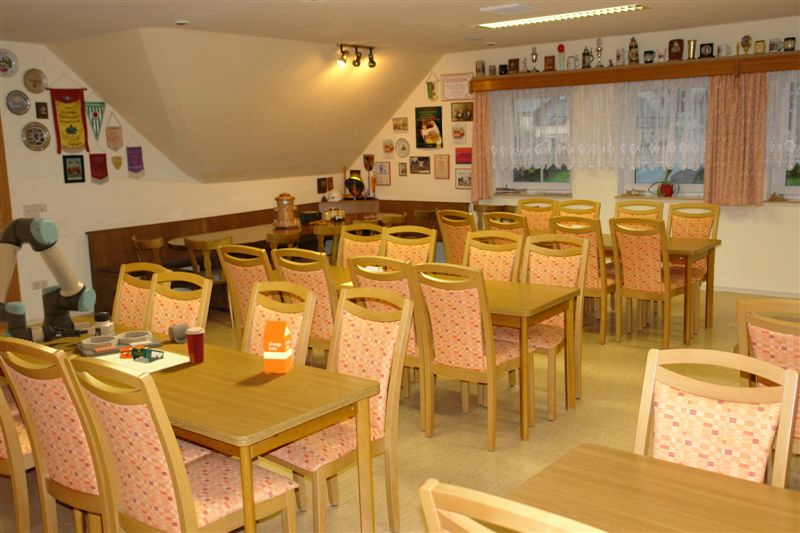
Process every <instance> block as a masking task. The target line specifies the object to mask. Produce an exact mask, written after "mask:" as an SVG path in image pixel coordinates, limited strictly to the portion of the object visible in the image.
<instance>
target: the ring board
mask: <svg viewBox="0 0 800 533" xmlns="http://www.w3.org/2000/svg"><path fill="white" fill-rule="evenodd" d="M128 346H131V347H132V346H144V347H149V348H148V349H154V348H160V347H161V348H162V347H163V343H162V342H161V341H159V340H158V339H157V338H155V337H154V336H153V333H152V332H151V331H150V330H132V331H127V332H126V331H125V332H122V333H119V334H117V335H115V336H96V337H92V336H90V337H87V338H85V339H82V340H81V341H80V343H78V344H76V348H77V349H78V351H80V353H82V354H83V356H84V357H85V358H87V357H90V358H95V357H101V356H108V355H107V354H110V355H112V354H111V353H116V354H119V353H118V352H120V349H121V348H124V347H128Z"/></svg>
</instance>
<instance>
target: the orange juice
mask: <svg viewBox="0 0 800 533" xmlns="http://www.w3.org/2000/svg"><path fill="white" fill-rule="evenodd" d="M262 342H263V343H262V344H263V346H262V347H263V359H264V360H263V361H264V373H265V372H277V373H286V372H288V371H289V370H290V369H291V368H292V369H293V350H292V349H293V348H292V333H291V330H290V327H289V324H288V321H286V320H285V321H284V320H283V321H281V320H280V321H279V320H266V321H265V325H264V331H263V336H262ZM292 369H291V370H292ZM291 370H290V371H291ZM290 371H289V372H290ZM289 372H288V373H289Z"/></svg>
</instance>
